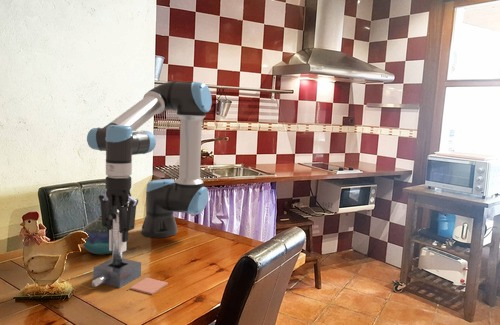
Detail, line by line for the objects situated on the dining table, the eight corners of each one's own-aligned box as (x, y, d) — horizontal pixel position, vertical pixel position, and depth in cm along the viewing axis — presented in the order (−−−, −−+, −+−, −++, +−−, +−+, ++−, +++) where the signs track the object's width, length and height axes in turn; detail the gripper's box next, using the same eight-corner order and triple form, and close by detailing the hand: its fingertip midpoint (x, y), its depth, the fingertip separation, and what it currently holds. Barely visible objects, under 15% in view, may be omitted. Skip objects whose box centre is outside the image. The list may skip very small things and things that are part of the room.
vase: (99, 242, 155) (99, 209, 154) (133, 247, 151) (133, 214, 149) (71, 255, 141) (71, 219, 139) (108, 261, 136) (108, 224, 135)
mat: (146, 278, 124) (146, 277, 124) (168, 284, 122) (168, 282, 121) (130, 288, 117) (130, 287, 117) (152, 294, 114) (152, 293, 114)
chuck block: (116, 269, 130) (116, 256, 130) (140, 275, 127) (141, 262, 126) (81, 287, 116) (81, 273, 116) (107, 294, 113) (107, 280, 112)
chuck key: (120, 258, 126) (121, 210, 124) (128, 260, 125) (128, 211, 123) (106, 265, 120) (106, 214, 119) (114, 267, 119) (114, 216, 117)
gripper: (89, 174, 119) (88, 249, 122) (132, 180, 113) (130, 259, 116) (106, 171, 126) (106, 242, 129) (148, 177, 120) (146, 251, 123)
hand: (117, 250), depth 122 cm, fingers closed on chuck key, 3 cm apart
